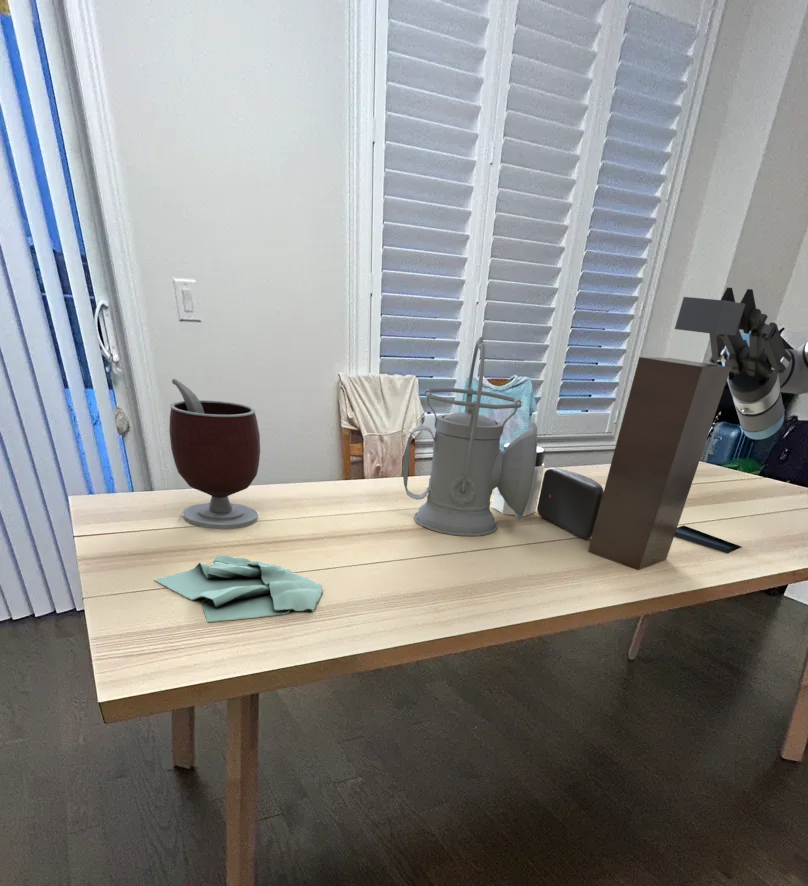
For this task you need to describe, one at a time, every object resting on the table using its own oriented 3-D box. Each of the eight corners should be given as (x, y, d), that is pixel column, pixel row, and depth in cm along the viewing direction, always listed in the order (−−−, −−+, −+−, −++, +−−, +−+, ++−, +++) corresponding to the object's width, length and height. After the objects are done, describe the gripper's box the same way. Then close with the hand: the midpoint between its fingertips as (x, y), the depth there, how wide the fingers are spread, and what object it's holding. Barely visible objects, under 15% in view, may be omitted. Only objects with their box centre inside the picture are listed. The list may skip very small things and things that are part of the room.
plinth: (616, 542, 117) (669, 357, 101) (666, 559, 112) (731, 367, 95) (587, 551, 111) (638, 356, 95) (638, 570, 106) (702, 366, 89)
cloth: (335, 617, 80) (335, 599, 79) (151, 625, 74) (148, 606, 73) (308, 558, 96) (308, 543, 95) (155, 561, 90) (153, 544, 89)
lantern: (522, 547, 110) (562, 349, 93) (396, 534, 109) (414, 332, 93) (508, 511, 128) (539, 339, 111) (399, 500, 127) (415, 326, 110)
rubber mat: (702, 522, 134) (704, 518, 134) (759, 539, 128) (761, 534, 127) (668, 534, 125) (669, 529, 124) (727, 553, 118) (729, 548, 117)
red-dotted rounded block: (604, 540, 118) (618, 488, 112) (585, 542, 116) (598, 489, 111) (551, 513, 129) (562, 465, 124) (533, 514, 128) (543, 465, 122)
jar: (485, 504, 131) (494, 442, 124) (518, 503, 134) (530, 442, 127) (506, 517, 124) (518, 453, 117) (541, 516, 127) (555, 453, 120)
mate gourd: (279, 518, 111) (276, 391, 100) (220, 536, 101) (210, 396, 90) (215, 498, 117) (206, 376, 106) (154, 513, 107) (136, 380, 96)
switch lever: (728, 333, 106) (737, 305, 104) (764, 338, 103) (774, 308, 100) (674, 329, 94) (683, 296, 92) (713, 333, 90) (723, 300, 88)
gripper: (786, 410, 111) (773, 327, 92) (702, 395, 120) (674, 316, 101) (810, 368, 110) (801, 275, 91) (723, 356, 119) (699, 269, 100)
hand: (735, 297), depth 96 cm, fingers closed on switch lever, 2 cm apart
